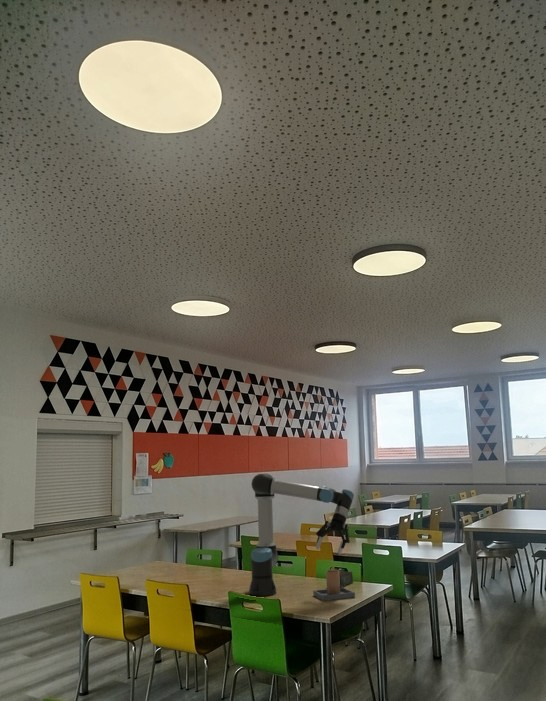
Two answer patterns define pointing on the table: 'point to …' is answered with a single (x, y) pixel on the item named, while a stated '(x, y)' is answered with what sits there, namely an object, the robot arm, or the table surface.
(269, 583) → the robot arm
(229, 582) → the table surface
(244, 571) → the table surface
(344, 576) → the beverage carton
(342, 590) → the grey square tray
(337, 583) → the terracotta cup
